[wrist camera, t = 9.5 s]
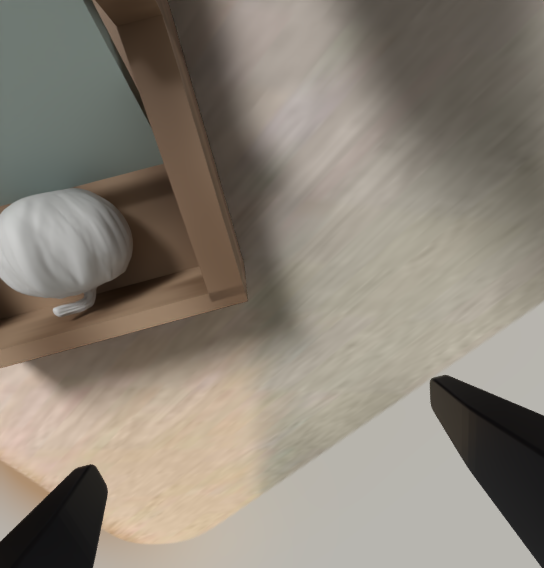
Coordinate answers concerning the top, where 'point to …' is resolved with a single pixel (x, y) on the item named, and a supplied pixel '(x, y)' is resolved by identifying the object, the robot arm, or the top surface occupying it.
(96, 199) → the garlic
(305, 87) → the top surface
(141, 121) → the trapdoor plate
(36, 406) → the top surface
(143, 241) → the frame
